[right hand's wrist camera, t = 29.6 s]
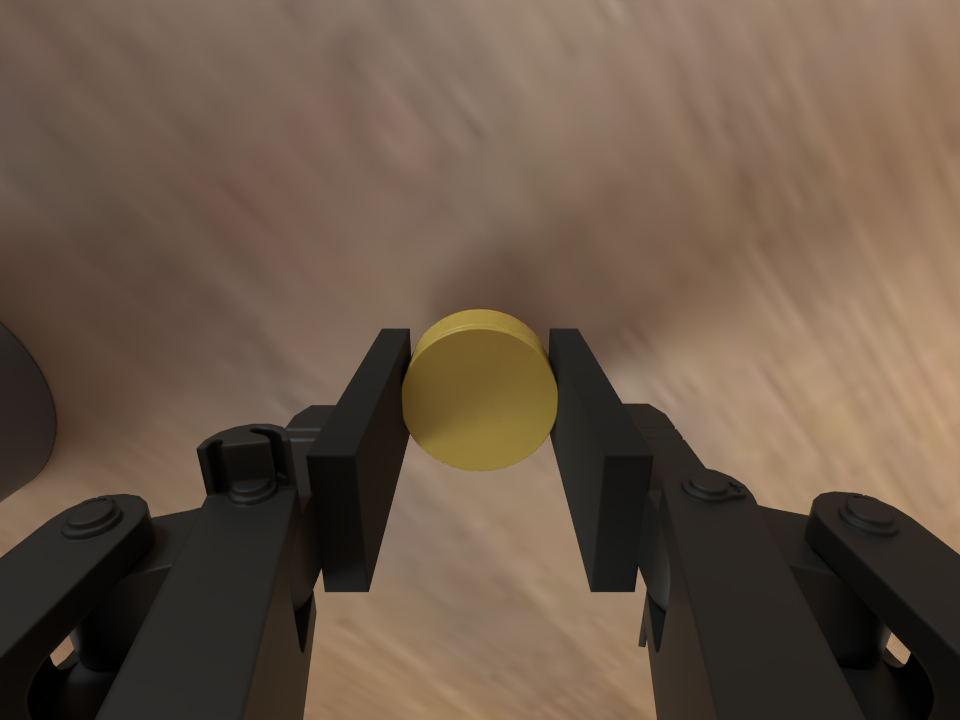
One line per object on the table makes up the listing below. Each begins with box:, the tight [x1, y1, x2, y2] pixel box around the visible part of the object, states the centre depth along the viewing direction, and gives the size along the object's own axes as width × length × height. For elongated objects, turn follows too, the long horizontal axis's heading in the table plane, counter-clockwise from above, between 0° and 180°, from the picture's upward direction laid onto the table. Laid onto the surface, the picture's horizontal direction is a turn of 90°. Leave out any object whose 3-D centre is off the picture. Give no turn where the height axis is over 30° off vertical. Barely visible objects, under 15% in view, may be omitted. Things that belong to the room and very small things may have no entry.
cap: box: [402, 309, 558, 471], centre depth 13 cm, size 4×4×2 cm
